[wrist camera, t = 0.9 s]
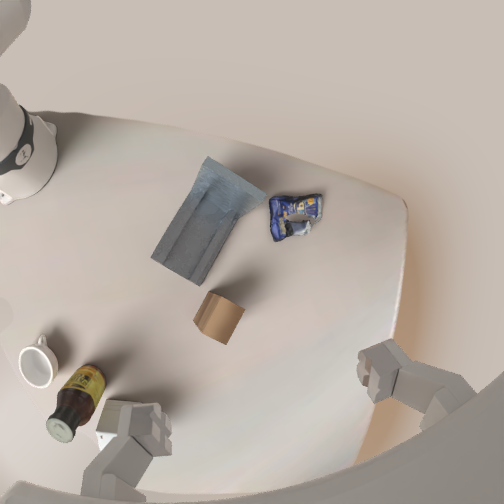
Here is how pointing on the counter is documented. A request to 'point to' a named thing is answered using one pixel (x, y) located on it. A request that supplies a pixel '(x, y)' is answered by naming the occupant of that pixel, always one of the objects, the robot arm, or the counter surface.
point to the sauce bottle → (76, 402)
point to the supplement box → (110, 421)
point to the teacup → (38, 364)
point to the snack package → (290, 205)
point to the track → (205, 221)
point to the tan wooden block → (218, 317)
